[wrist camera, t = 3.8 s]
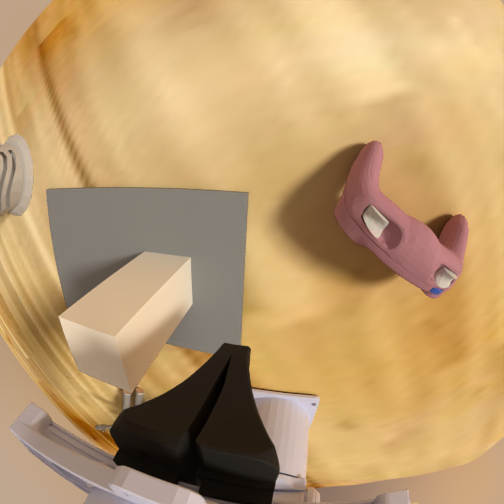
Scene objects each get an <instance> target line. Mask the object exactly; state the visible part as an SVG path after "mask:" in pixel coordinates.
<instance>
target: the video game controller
mask: <svg viewBox="0 0 504 504" xmlns="http://www.w3.org/2000/svg"><path fill="white" fill-rule="evenodd" d="M382 160H383V148H382V145H381V143H380V142H378V141H372V142H370V143H368V144H367V145H365V146H364V147H363V148H362V149H361V151H360V152H359V154H358V156H357V157H356V159H355V161H354V163H353V165H352V167H351V170H350V172H349V175H348V177H347V180H346V184H345V187H344V190H343V193H342V197H341V199H340V200H339V201H338V203H337V204H336V205H335V208H334V214H335V218H336V220H337V222H338V224H339V225H340V227H341V228H342V229H343V231H344V232H345V233H346V235H347V236H349V237H350V238H351V239H352V240H353V241H354V242H356V243H358V244H359V245H361V246H363V247H366V248H369V249H370V250H371V251H372V252H373V253H374V254H375V255H376V256H377V257H378V258H379V259H380V260H381V261H382V262H383V263H384V264H386V265H387V266H388V267H389V268H391V269H392V270H393V271H395V272H396V273H397V274H398V275H399V276H401V277H402V278H404V279H405V280H407V281H408V282H410V283H411V284H413V285H415V286H417V287H418V288H420V289H421V290H422V291H423V292H424V293H425V294H426V295H427V296H429V297H430V298H434V299H435V298H438V297H439V296H440V295H442V294H443V293H444V292H446V291H447V290H449V289H450V288H451V287H452V286H453V285H454V283H455V282H456V280H457V279H458V277H459V276H460V274H461V272H462V267H463V260H464V253H465V249H466V244H467V238H468V223H467V220H466V219H465V217H464V216H463V215H461V214H458V215H455V216H453V217H452V218H451V219H450V220H449V221H448V222H447V223H446V225H445V226H444V228H443V230H442V232H441V234H440V236H439V238H438V239H437V237H436V235H435V234H434V233H433V231H432V230H431V229H430V228H429V227H428V226H427V225H425V224H424V223H422V222H420V221H419V220H417V219H415V218H413V217H411V216H409V215H407V214H406V213H405V212H404V211H402V210H401V209H400V208H399V207H398V206H397V205H396V204H394V203H393V202H392V201H391V200H390V199H388V198H387V197H386V196H385V195H384V194H383V193H382V192H381V191H380V189H379V174H380V169H381V164H382Z"/></svg>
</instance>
